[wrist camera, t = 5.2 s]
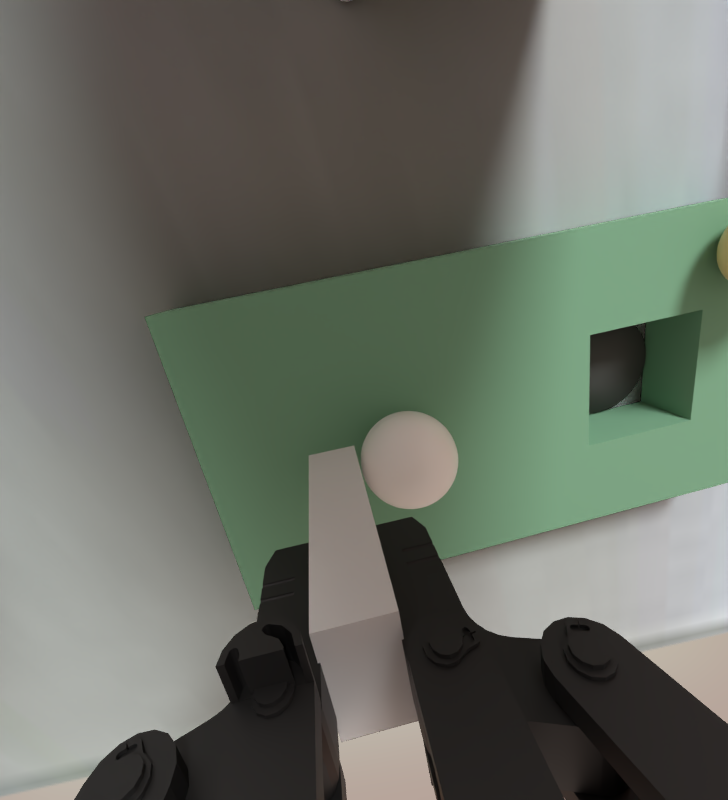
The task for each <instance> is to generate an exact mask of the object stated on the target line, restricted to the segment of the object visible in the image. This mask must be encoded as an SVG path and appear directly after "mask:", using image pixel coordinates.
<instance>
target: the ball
mask: <svg viewBox="0 0 728 800" xmlns="http://www.w3.org/2000/svg"><path fill="white" fill-rule="evenodd" d="M361 469H362V473H363V476H364V478H365V481H366V483H367V485H368V486H369V488H370V489H371V490H372V492H373V493H374V494H375V495H376V496H377V497H379V498H380V499H381V500H382V501H384V502H386V503H387V504H390V505H392V506H394V507H398V508H402V509H418V508H423V507H426V506H429V505H431V504H433V503H435V502H436V501H438V500H439V499H441V498H442V497H443V496H444V495H445V494H446V493H447V492H448V490H449V489H450V487H451V486H452V484H453V482H454V480H455V477H456V474H457V470H458V452H457V448H456V445H455V442H454V440H453V438H452V436H451V434H450V433H449V431H448V430H447V429H446V427H445V426H444V425H443V424H441V423H440V422H439V421H438V420H436V419H435V418H433V417H431V416H429V415H427V414H424V413H421V412H417V411H401V412H396V413H393V414H390V415H388V416H386V417H384V418H382V419H381V420H380V421H378V422H377V423H376V424H375V425H374V426H373V427H372V428H371V430H370V431H369V432H368V434H367V436H366V438H365V440H364V442H363V445H362V450H361Z"/></svg>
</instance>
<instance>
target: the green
mask: <svg viewBox="0 0 728 800" xmlns="http://www.w3.org/2000/svg"><path fill="white" fill-rule="evenodd" d="M727 226H728V198H723V199H718V200H712V201H707V202H702V203H697V204H692V205H687V206H682V207H677V208H672V209H667V210H663V211H658V212H653V213H648V214H643V215H638V216H633V217H628V218H623V219H618V220H613V221H608V222H603V223H598V224H593V225H588V226H583V227H578V228H573V229H568V230H563V231H558V232H553V233H548V234H543V235H538V236H534V237H529V238H524V239H519V240H514V241H509V242H504V243H499V244H494V245H489V246H484V247H479V248H474V249H469V250H464V251H459V252H454V253H449V254H444V255H439V256H434V257H429V258H424V259H419V260H414V261H410V262H405V263H400V264H395V265H390V266H385V267H380V268H375V269H370V270H365V271H360V272H355V273H350V274H345V275H340V276H335V277H330V278H325V279H320V280H315V281H310V282H305V283H300V284H295V285H290V286H286V287H281V288H276V289H271V290H266V291H261V292H256V293H251V294H246V295H241V296H236V297H231V298H226V299H221V300H216V301H211V302H206V303H201V304H196V305H191V306H186V307H181V308H176V309H171V310H168V311H164V312H161V313H157V314H153V315H150V316H146V317H145V320H146V322H147V325H148V328H149V330H150V333H151V336H152V338H153V341H154V344H155V346H156V349H157V351H158V354H159V357H160V359H161V362H162V365H163V367H164V370H165V373H166V375H167V378H168V381H169V383H170V386H171V389H172V391H173V394H174V397H175V399H176V402H177V405H178V407H179V410H180V412H181V415H182V418H183V420H184V423H185V426H186V428H187V431H188V434H189V436H190V439H191V442H192V444H193V447H194V450H195V452H196V455H197V458H198V460H199V463H200V466H201V468H202V471H203V473H204V476H205V479H206V481H207V484H208V487H209V489H210V492H211V495H212V497H213V500H214V503H215V505H216V508H217V511H218V513H219V516H220V519H221V521H222V524H223V527H224V529H225V532H226V534H227V537H228V540H229V542H230V545H231V548H232V550H233V553H234V556H235V558H236V561H237V564H238V566H239V569H240V572H241V574H242V577H243V580H244V582H245V585H246V588H247V590H248V593H249V595H250V598H251V601H252V603H253V606H254V609H255V610H256V609H259V605H260V604H261V601H260V598H261V592H262V588H263V578H264V571H265V567H266V565H267V563H268V562H269V560H270V559H271V557H272V555H273V554H274V552H275V551H276V550H279V549H283V548H287V547H292V546H296V545H300V544H304V543H309V455H313V454H318V453H322V452H327V451H331V450H336V449H340V448H345V447H349V446H354V447H355V451H356V455H357V458H358V462H359V466H360V469H361V450H362V445H363V442H364V440H365V438H366V436H367V434H368V432H369V431H370V430H371V428H372V427H373V426H374V425H375V424H376V423H377V422H378V421H380V420H381V419H382V418H384V417H386V416H388V415H390V414H393V413H396V412H401V411H417V412H421V413H424V414H427V415H429V416H431V417H433V418H435V419H436V420H438V421H439V422H440V423H441V424H443V425H444V426H445V427H446V429H447V430H448V431H449V433H450V434H451V436H452V438H453V440H454V442H455V445H456V448H457V452H458V470H457V474H456V477H455V480H454V482H453V484H452V486H451V487H450V489H449V490H448V492H447V493H446V494H445V495H444V496H443V497H442V498H441V499H439V500H438V501H436V502H435V503H433V504H431V505H429V506H426V507H423V508H418V509H402V508H398V507H394V506H392V505H390V504H387V503H386V502H384V501H382V500H381V499H380V498H379V497H377V496H376V495H375V494H374V493H373V492H372V490H371V489H370V488H369V486H368V485H367V483H366V481H365V478H364V476H363V473H362V469H361V473H362V477H363V480H364V484H365V488H366V492H367V495H368V499H369V503H370V506H371V510H372V514H373V517H374V521H375V525H378V524H383V523H387V522H391V521H395V520H400V519H404V518H408V517H413V518H414V519H416V520H417V521H418V522H419V523H421V524H422V525H423V526H425V527H426V529H427V531H428V534H429V536H430V538H431V540H432V542H433V545H434V546H435V549H436V551H437V553H438V556H439V558H440V559H441V560H442V559H446V558H450V557H453V556H457V555H461V554H464V553H468V552H472V551H476V550H479V549H483V548H487V547H490V546H494V545H498V544H502V543H505V542H509V541H513V540H516V539H520V538H524V537H528V536H531V535H535V534H539V533H542V532H546V531H550V530H554V529H557V528H561V527H565V526H568V525H572V524H576V523H580V522H583V521H587V520H591V519H594V518H598V517H602V516H606V515H609V514H613V513H617V512H620V511H624V510H628V509H632V508H635V507H639V506H643V505H646V504H650V503H654V502H658V501H661V500H665V499H669V498H672V497H676V496H680V495H684V494H687V493H691V492H695V491H698V490H702V489H706V488H710V487H713V486H717V485H721V484H724V483H728V280H727V279H726V278H725V277H724V276H723V274H722V273H721V271H720V269H719V267H718V264H717V247H718V243H719V241H720V238H721V236H722V234H723V232H724V230H725V229H726V227H727ZM641 323H646V330H645V343H644V340H643V337H642V335H641V333H640V332H639V330H638V329H637V328H636V327H635V325H637V324H641ZM642 371H643V378H642V394H641V401H640V402H636V403H632V404H628V405H624V406H620V407H616V408H612V409H609V408H611V407H613V406H615V405H616V404H618V403H619V402H620V401H622V400H623V399H624V398H625V397H626V396H627V395H628V394H629V393H630V392H631V391H632V389H633V388H634V387H635V385H636V384H637V382H638V380H639V378H640V376H641V374H642ZM606 409H608V410H606ZM595 412H596V413H595ZM589 413H591V414H589Z"/></svg>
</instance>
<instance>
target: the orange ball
mask: <svg viewBox="0 0 728 800" xmlns="http://www.w3.org/2000/svg"><path fill="white" fill-rule="evenodd" d="M717 264H718V267H719V269H720V271H721V273H722V274H723V276H724V277H725V278H726V279H727V280H728V226H727V227H726V229H725V230H724V232H723V234H722V236H721V238H720V241H719V243H718V247H717Z"/></svg>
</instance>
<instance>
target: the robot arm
mask: <svg viewBox="0 0 728 800" xmlns="http://www.w3.org/2000/svg"><path fill="white" fill-rule="evenodd" d="M260 601H261V604H260V605H259V612H258V618H257V622H255V623H252V624H250V625H248V626H247V627H245V628H244V629H243V630H241V631H240V632H239V633H237V634H236V635H235V636H234V637H233V638H232V639H231V641H230V642H229V643H228V644H227V645H226V647H225V648H224V649H223V650H222V653H221V655H220V658H219V660H218V662H217V665H216V669H217V671H218V673H219V676H220V678H221V681H222V683H223V685H224V688H225V690H226V693H227V695H228V697H229V700H230V703H229V704H228V705H227V706H226V707H225V708H224V709H223V710H222V711H221V712H219V713H218V714H217V715H215V716H214V717H213V718H211V719H210V720H208V721H207V722H205V723H203V724H202V725H200V726H198V727H197V728H195V729H194V730H192V731H190V732H189V733H187V734H185V735H184V736H182V737H180V738H179V739H177V740H175V741H173V740H172V738H171V737H170V736H169V734H168V733H165V732H161V731H158V730H151V731H147V732H143V733H138V734H136V735H135V736H133V737H131V738H130V739H128V740H126V741H124V742H123V743H121V744H119V745H118V746H117V747H116V748H115V749H114V750H113V751H112V752H111V753H109V754H108V755H107V756H106V757H105V758H104V759H103V760H102V761H101V762H100V763H99V764H98V766H97V767H96V768H95V770H94V771H93V772H92V774H91V775H90V776H89V778H88V779H87V780H86V782H85V783H84V784H83V786H82V788H81V789H80V791H79V793H78V794H77V796H76V798H75V799H74V800H347V798H346V784H345V779H344V775H343V771H342V767H341V764H340V760H339V745H338V733H339V736H340V740H341V742H343V741H347V740H351V739H355V738H358V737H362V736H365V735H369V734H372V733H376V732H380V731H383V730H387V729H390V728H394V727H398V726H401V725H405V724H408V723H412V722H416V721H419V724H420V729H421V733H422V737H423V741H424V746H425V752H426V757H427V762H428V768H429V773H430V778H431V783H432V785H433V786H434V790H435V795H436V799H437V800H728V724H727V723H726V722H725V721H723V720H722V719H721V718H720V717H718V716H717V715H716V714H715V713H714V712H712V711H711V710H710V709H709V708H708V707H706V706H705V705H704V704H703V703H702V702H700V701H699V700H698V699H697V698H695V697H694V696H693V695H692V694H691V693H689V692H688V691H687V690H686V689H685V688H683V687H682V686H681V685H680V684H679V683H677V682H676V681H675V680H674V679H672V678H671V677H670V676H669V675H668V674H666V673H665V672H664V671H663V670H662V669H660V668H659V667H658V666H657V665H656V664H654V663H653V662H652V661H651V660H650V659H648V658H647V657H646V656H645V655H644V654H642V653H641V652H640V651H639V650H638V649H636V648H635V647H634V646H633V645H632V644H630V643H629V642H628V641H627V640H626V639H624V638H623V637H622V636H621V635H619V634H618V633H616V632H614V631H613V630H611V629H610V628H608V627H607V626H605V625H604V624H601V623H598V622H595V621H592V620H589V619H586V618H572V617H567V618H564V619H560V620H557V621H554V622H553V623H552V624H551V625H549V626H548V627H547V628H546V629H545V630H544V632H543V636H542V639H531V638H515V637H507V636H501V635H497V634H495V633H492V632H489V631H487V630H485V629H484V628H482V627H481V626H479V625H477V624H476V623H475V622H474V621H473V620H472V619H471V618H470V617H469V616H468V614H467V613H466V611H465V610H464V608H463V606H462V604H461V602H460V600H459V598H458V596H457V594H456V591H455V589H454V587H453V585H452V583H451V581H450V579H449V576H448V574H447V572H446V570H445V568H444V566H443V564H442V561H441V559H440V558H439V556H438V553H437V551H436V549H435V546H434V545H433V542H432V540H431V538H430V536H429V534H428V531H427V529H426V527H425V526H423V525H422V524H421V523H419V522H418V521H417V520H416V519H414V518H413V517H408V518H404V519H400V520H395V521H391V522H387V523H383V524H378V525H375V521H374V517H373V514H372V510H371V506H370V503H369V499H368V495H367V492H366V488H365V484H364V480H363V477H362V473H361V469H360V466H359V462H358V458H357V455H356V451H355V447H354V446H349V447H345V448H340V449H336V450H331V451H327V452H322V453H318V454H313V455H309V543H304V544H300V545H296V546H292V547H287V548H283V549H279V550H276V551H275V552H274V554H273V555H272V557H271V559H270V560H269V562H268V563H267V565H266V567H265V571H264V578H263V588H262V592H261V598H260ZM564 798H565V799H564Z"/></svg>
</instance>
